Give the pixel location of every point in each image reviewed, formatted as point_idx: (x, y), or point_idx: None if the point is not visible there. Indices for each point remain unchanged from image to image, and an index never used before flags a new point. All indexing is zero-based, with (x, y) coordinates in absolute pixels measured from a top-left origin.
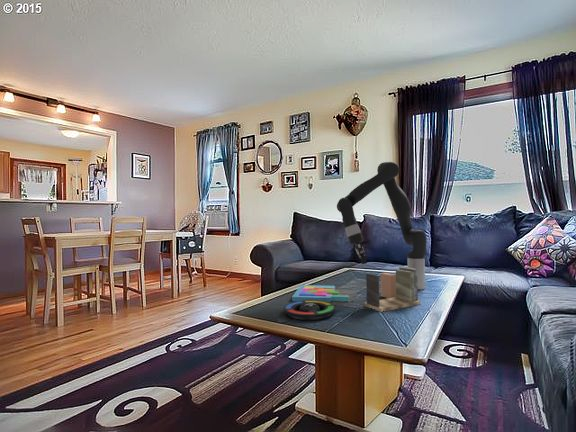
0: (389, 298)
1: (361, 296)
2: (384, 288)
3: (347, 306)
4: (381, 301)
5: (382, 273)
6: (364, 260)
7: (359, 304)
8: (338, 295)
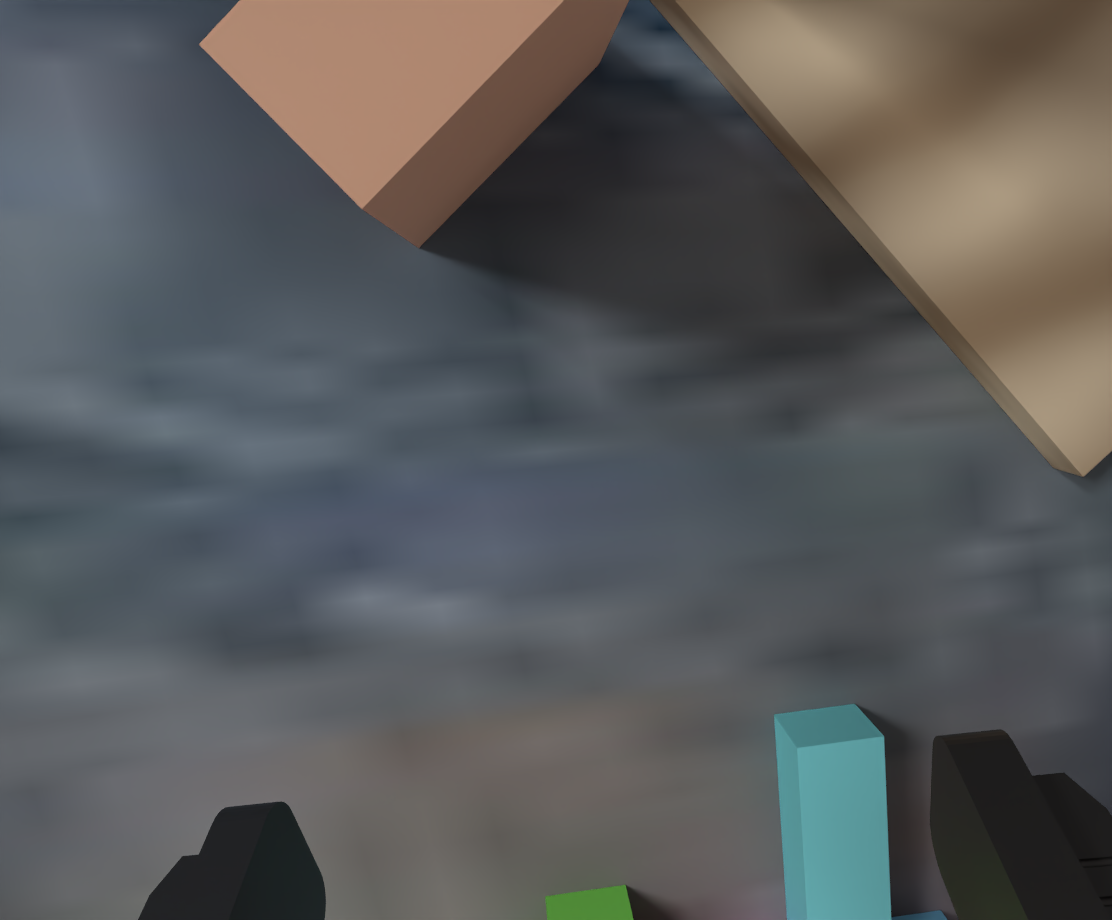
0: (773, 81)
1: (512, 563)
2: (482, 159)
3: (1108, 674)
4: (987, 212)
5: (373, 147)
6: (1103, 890)
7: (989, 534)
8: (812, 889)
